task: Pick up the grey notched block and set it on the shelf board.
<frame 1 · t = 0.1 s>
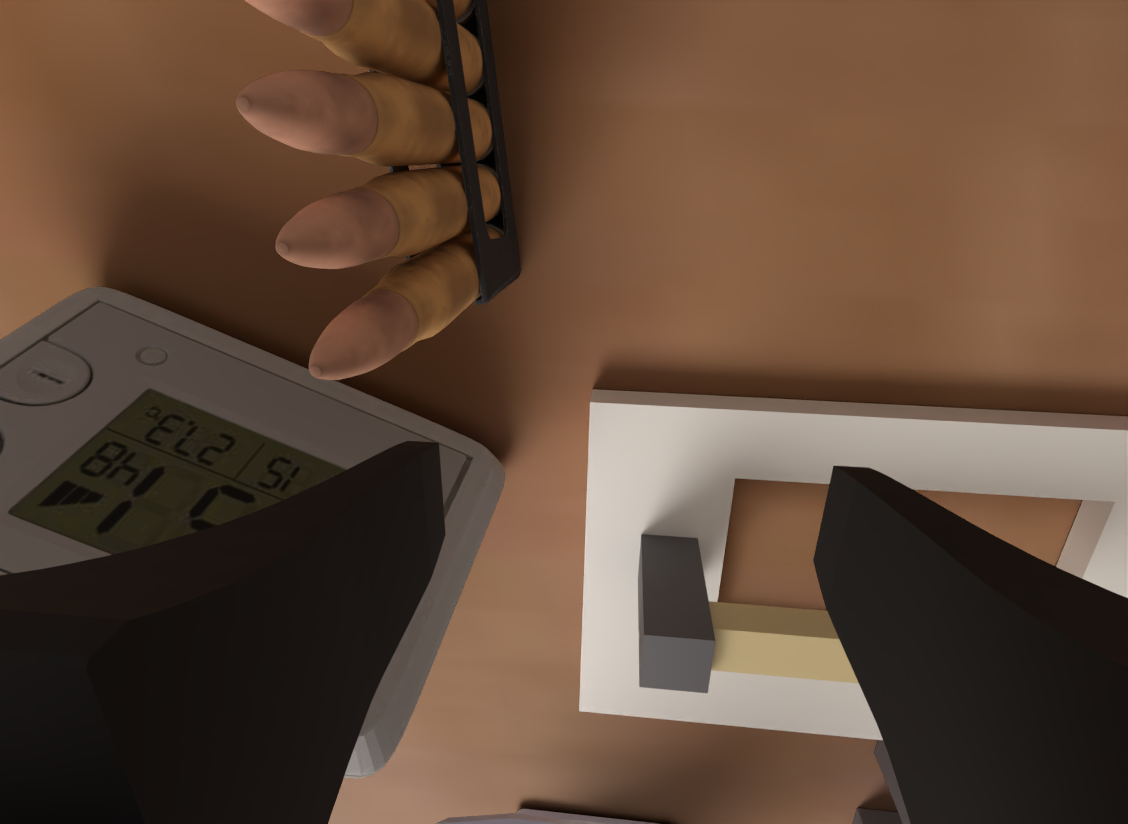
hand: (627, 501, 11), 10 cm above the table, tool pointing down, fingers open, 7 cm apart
digital clock: (302, 420, 23), on the table
grey notched block: (893, 784, 27), on the table
ammunition clip: (469, 98, 18), on the table
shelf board: (849, 575, 23), on the table
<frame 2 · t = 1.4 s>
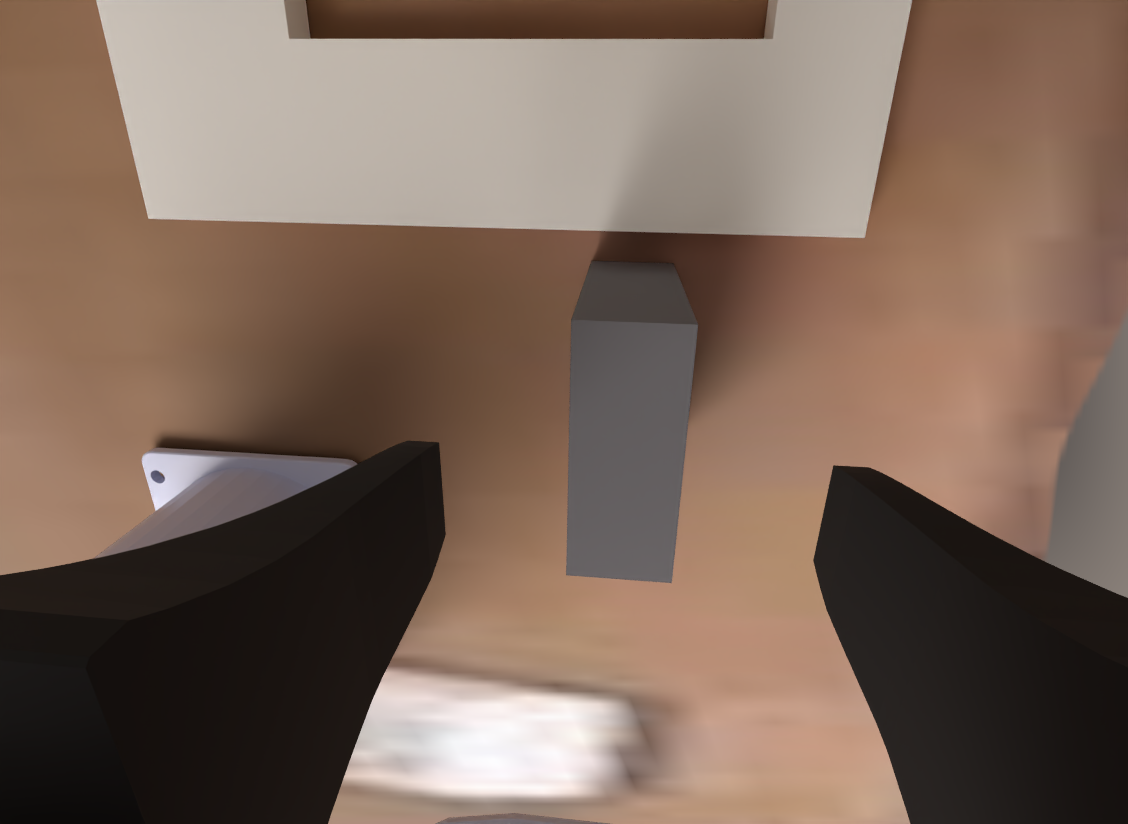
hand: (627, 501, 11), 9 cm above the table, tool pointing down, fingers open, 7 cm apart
grey notched block: (626, 359, 19), on the table
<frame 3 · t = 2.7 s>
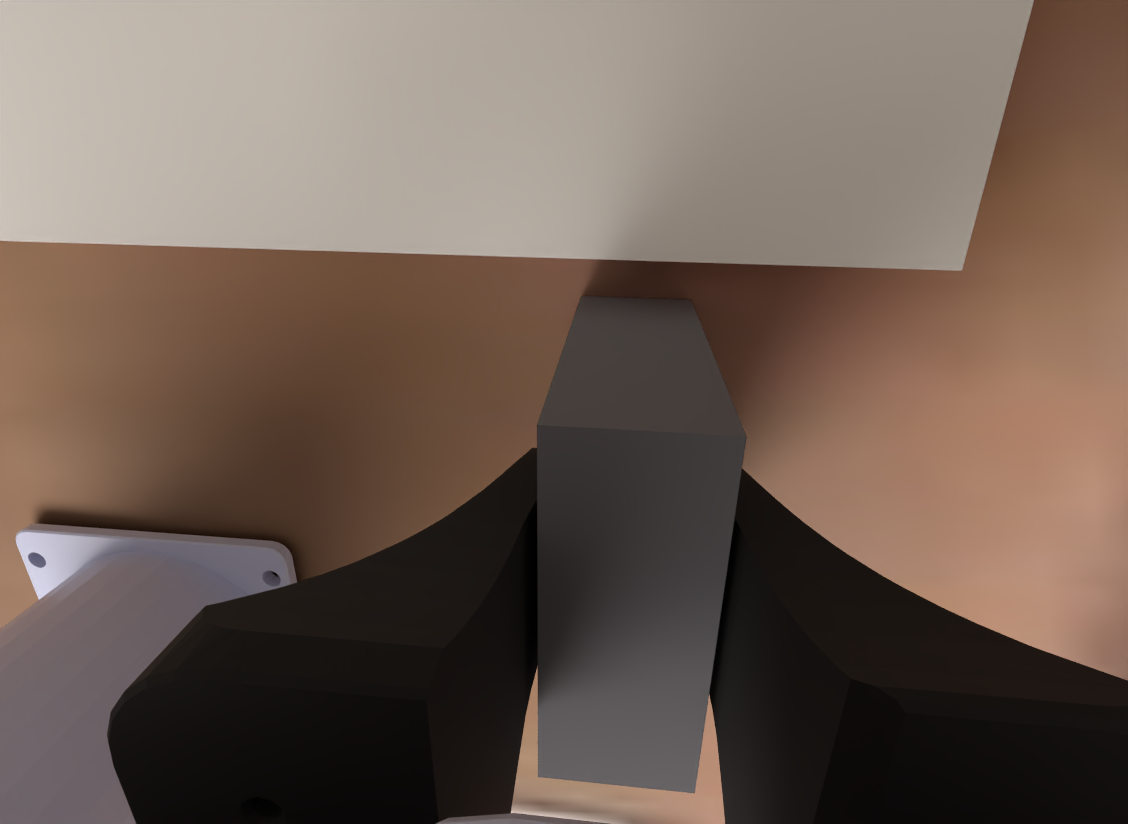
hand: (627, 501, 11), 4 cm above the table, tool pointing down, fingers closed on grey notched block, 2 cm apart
grey notched block: (628, 422, 15), on the table, touching gripper
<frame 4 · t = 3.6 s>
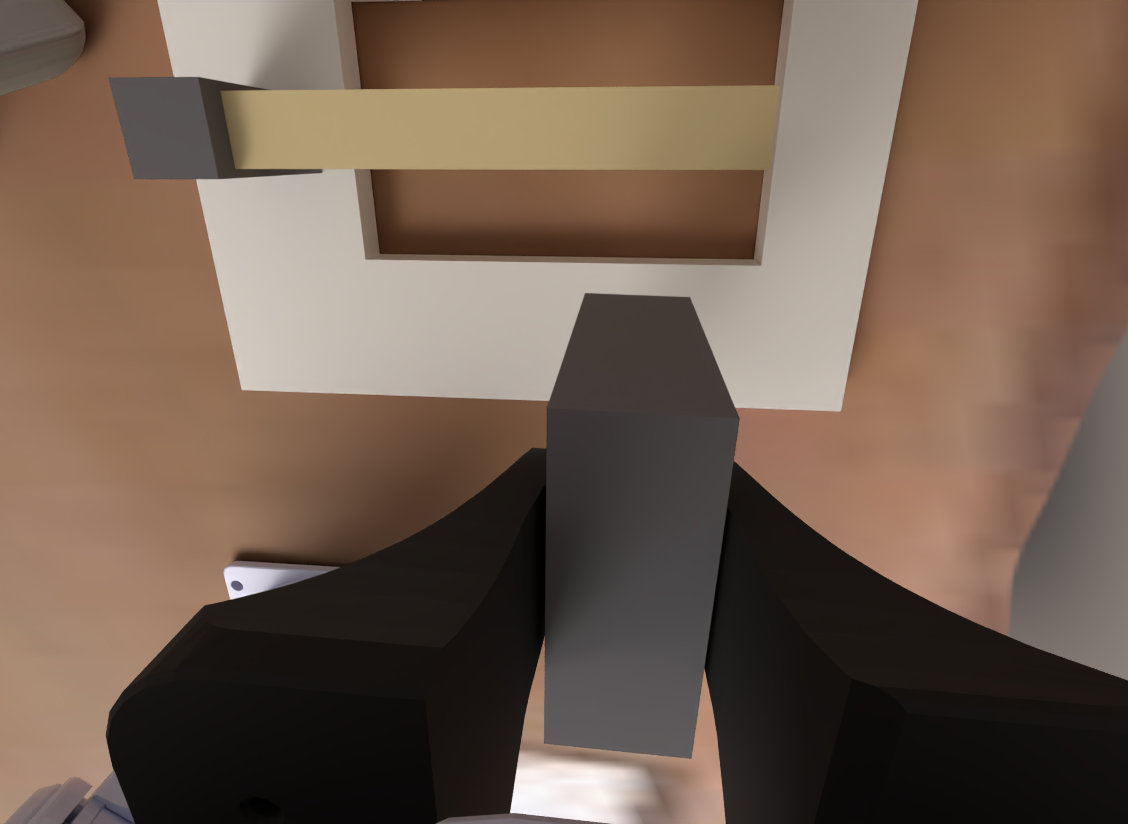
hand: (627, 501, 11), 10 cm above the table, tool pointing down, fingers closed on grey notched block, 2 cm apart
grey notched block: (629, 414, 15), point 6 cm above the table, touching gripper
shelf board: (528, 172, 19), on the table
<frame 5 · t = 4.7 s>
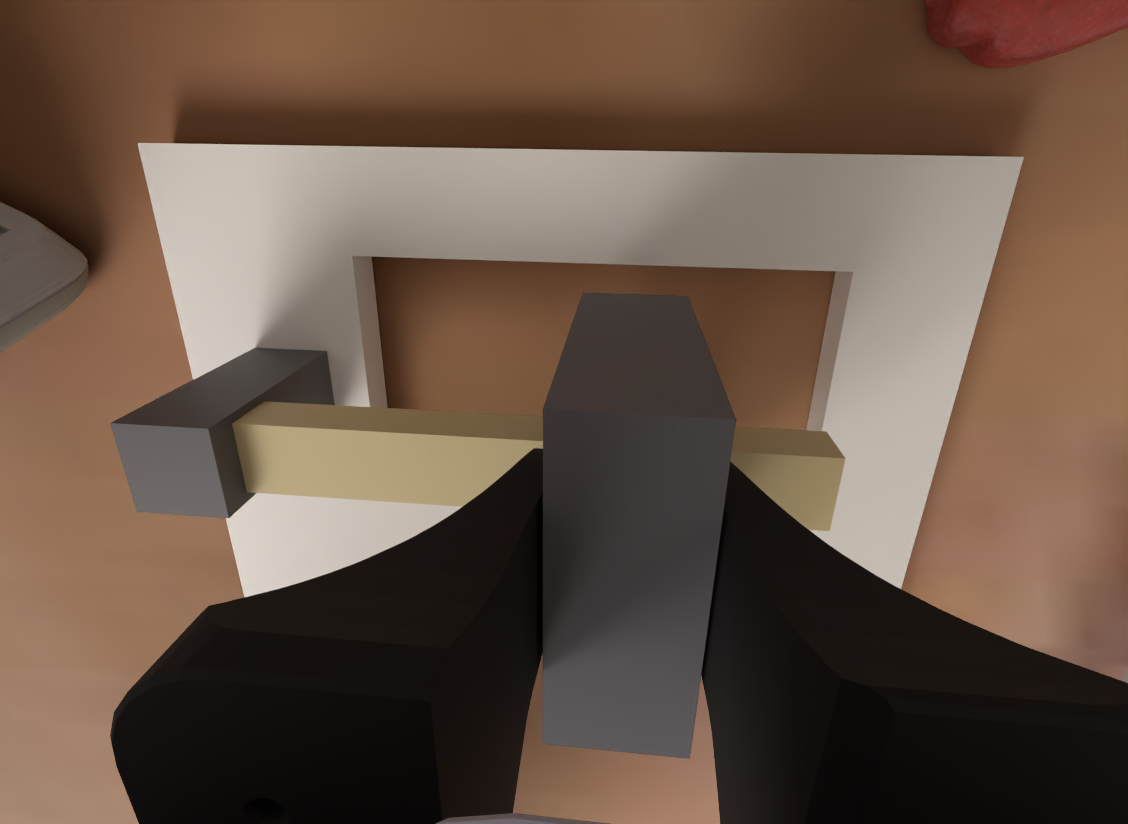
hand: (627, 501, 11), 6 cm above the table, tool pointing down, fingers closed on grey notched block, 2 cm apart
grey notched block: (627, 414, 15), point 2 cm above the table, touching gripper, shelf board
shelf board: (556, 414, 18), on the table
when the fingers open (6 cm above the table, at t = 4.9 s): grey notched block stays where it is, resting on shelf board.
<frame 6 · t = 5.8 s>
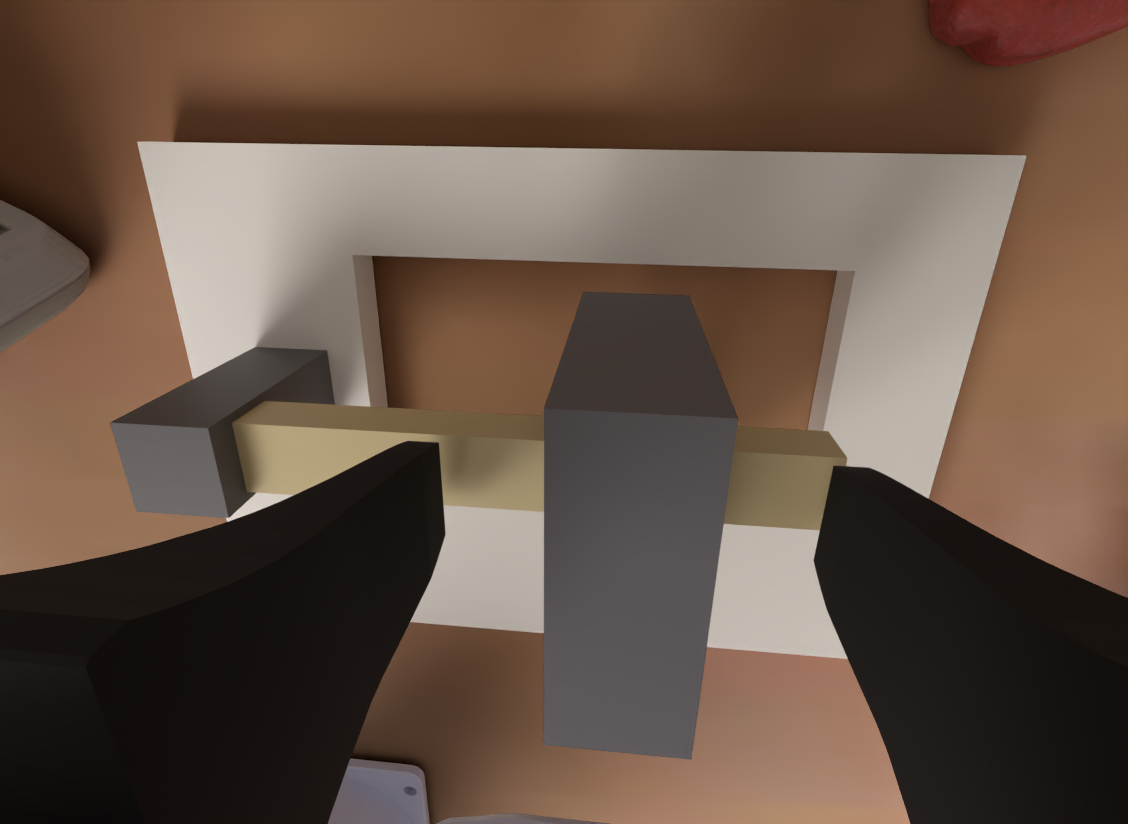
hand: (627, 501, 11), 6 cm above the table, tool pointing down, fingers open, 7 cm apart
grey notched block: (628, 414, 15), point 2 cm above the table, touching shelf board
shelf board: (556, 413, 18), on the table
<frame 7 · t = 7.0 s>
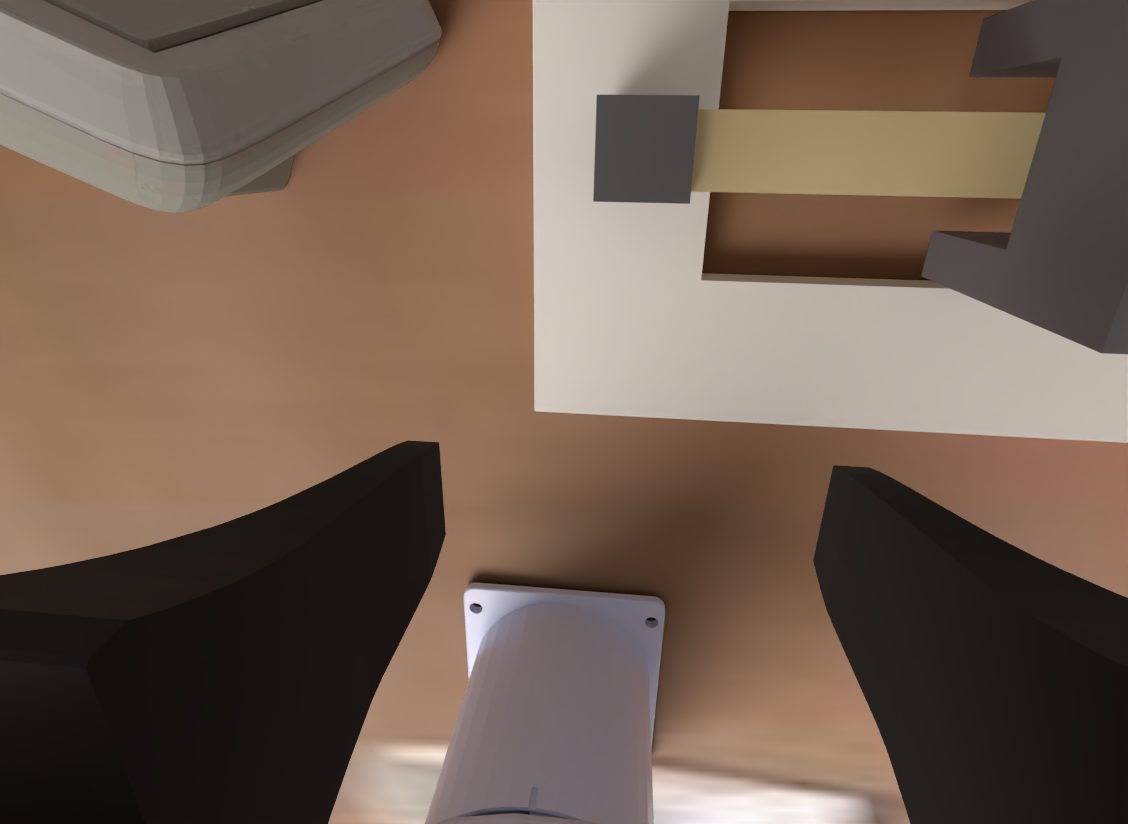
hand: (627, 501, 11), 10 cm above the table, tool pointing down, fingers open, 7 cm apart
grey notched block: (999, 158, 15), point 2 cm above the table, touching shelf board
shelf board: (879, 192, 18), on the table
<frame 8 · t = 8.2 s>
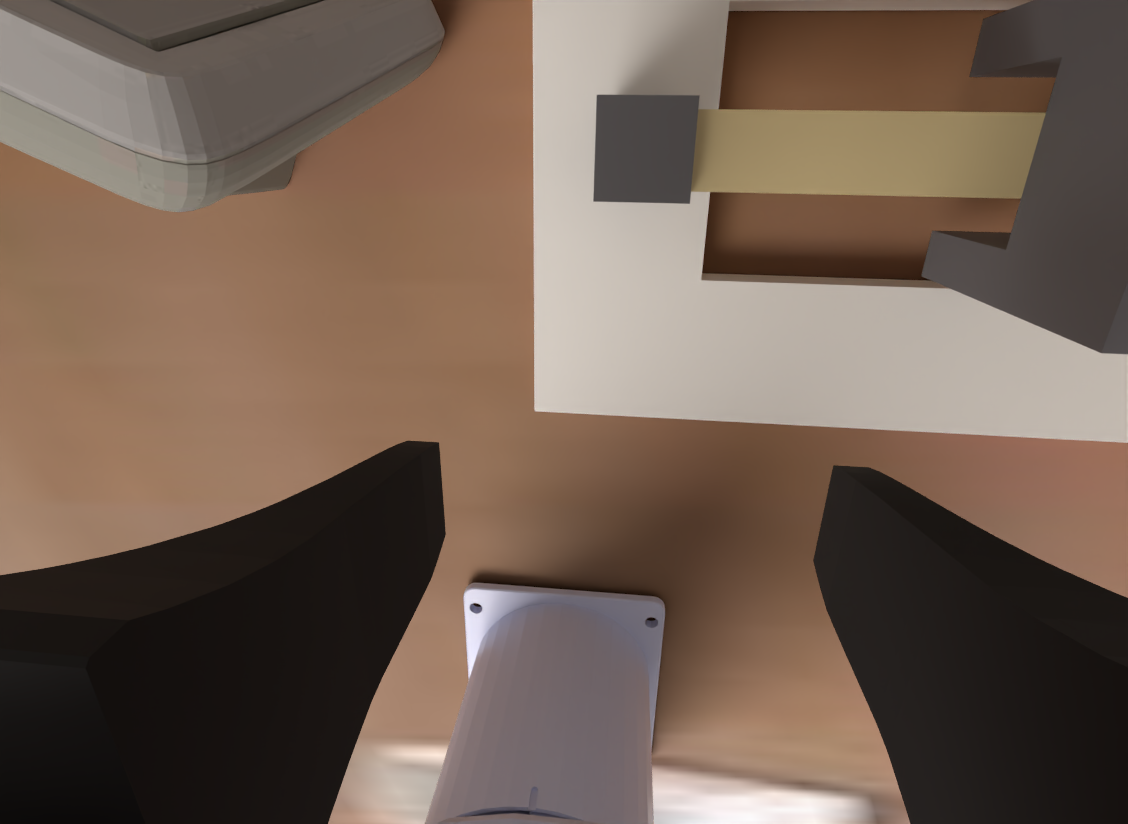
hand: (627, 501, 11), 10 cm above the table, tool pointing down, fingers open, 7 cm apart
grey notched block: (999, 158, 15), point 2 cm above the table, touching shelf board
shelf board: (879, 192, 18), on the table
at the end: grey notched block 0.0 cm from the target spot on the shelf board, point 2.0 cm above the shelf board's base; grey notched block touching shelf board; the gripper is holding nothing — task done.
